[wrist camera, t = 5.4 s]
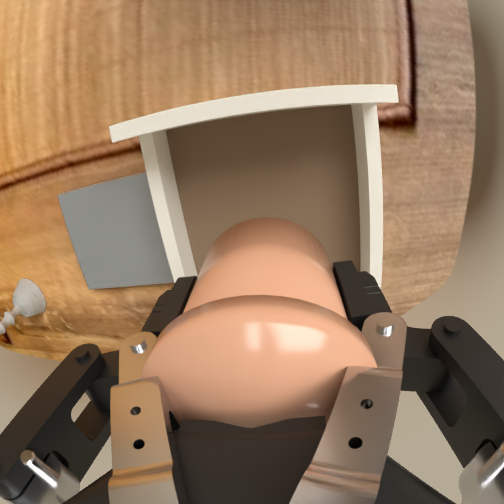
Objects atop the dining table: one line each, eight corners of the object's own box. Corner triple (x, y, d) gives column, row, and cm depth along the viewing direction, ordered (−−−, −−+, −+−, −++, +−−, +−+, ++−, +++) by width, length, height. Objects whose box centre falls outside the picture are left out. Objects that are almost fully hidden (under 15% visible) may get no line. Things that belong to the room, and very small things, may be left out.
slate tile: (63, 192, 26) (57, 195, 25) (154, 169, 25) (149, 172, 24) (93, 284, 30) (89, 289, 29) (180, 276, 29) (177, 282, 28)
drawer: (156, 120, 23) (108, 126, 16) (358, 92, 21) (396, 84, 14) (195, 294, 29) (173, 351, 22) (368, 276, 28) (394, 331, 20)
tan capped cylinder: (180, 218, 12) (98, 329, 6) (337, 199, 12) (401, 306, 5) (211, 338, 15) (181, 464, 9) (340, 327, 14) (368, 457, 8)
